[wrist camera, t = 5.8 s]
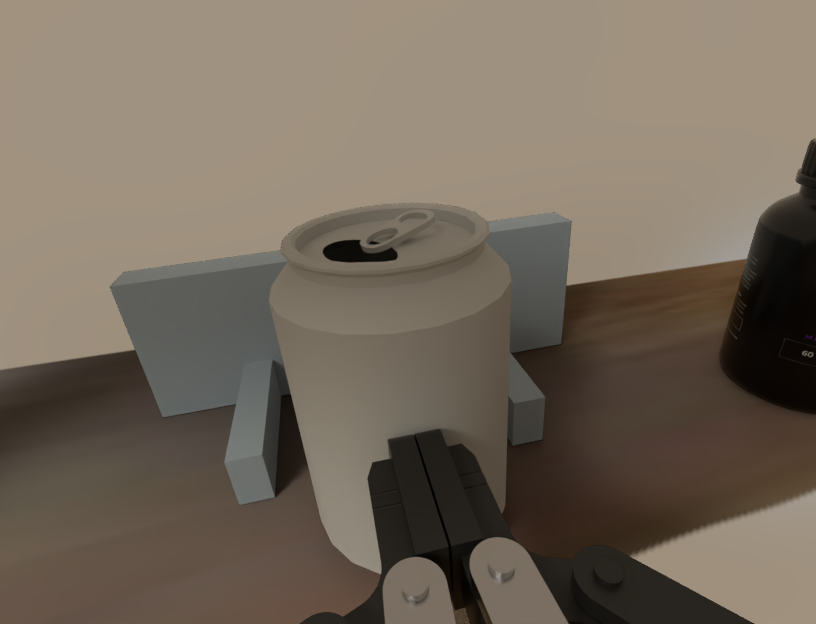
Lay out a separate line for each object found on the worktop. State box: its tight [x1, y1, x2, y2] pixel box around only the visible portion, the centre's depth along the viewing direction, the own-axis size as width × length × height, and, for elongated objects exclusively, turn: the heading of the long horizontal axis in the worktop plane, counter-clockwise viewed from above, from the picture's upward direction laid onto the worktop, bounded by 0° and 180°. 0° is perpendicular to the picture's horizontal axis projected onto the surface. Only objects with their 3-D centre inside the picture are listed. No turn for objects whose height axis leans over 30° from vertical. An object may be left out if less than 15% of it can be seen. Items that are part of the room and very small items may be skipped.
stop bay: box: [110, 212, 572, 505], centre depth 23 cm, size 24×10×8 cm, turn 102°
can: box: [269, 203, 511, 574], centre depth 16 cm, size 8×8×12 cm
